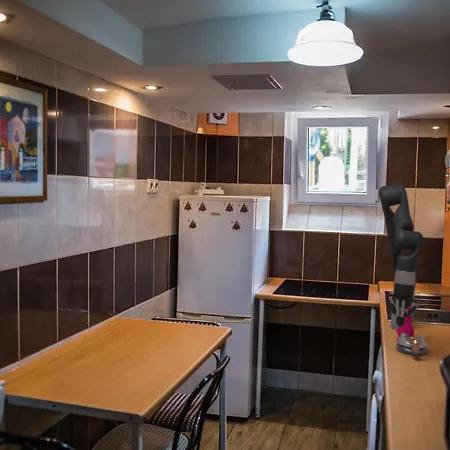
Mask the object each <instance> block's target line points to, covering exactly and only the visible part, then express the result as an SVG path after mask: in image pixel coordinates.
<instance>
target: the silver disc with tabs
mask: <svg viewBox="0 0 450 450" xmlns="http://www.w3.org/2000/svg"><path fill="white" fill-rule="evenodd" d="M395 348H396V349H395V350H396V351H398V352H399V353H403V354H405V355H409V356H410V355H411V356H418V357H422V356H426V355H427V354H428V349H429V347H427V346H426V349H424V350H419V353H418V354H417V355H416V354H412V351H411V349H408V348H404V347H402V346H400V345H398V342H396V346H395Z"/></svg>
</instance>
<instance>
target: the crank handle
mask: <svg viewBox="0 0 450 450" xmlns="http://www.w3.org/2000/svg"><path fill="white" fill-rule="evenodd" d="M398 337H399V336H398ZM424 337H425V336H424V335H423V334H416V336H408V333H405V332H404V333H401V336H400V337H399V338H398V342H397V343H398V345H400V346H402V347H404V348H408V349H411V351H412V354H416V355H417V354H418V353H419V350H424V349H426V347H427V345H428V341H427V339H424ZM416 355H415V356H416Z"/></svg>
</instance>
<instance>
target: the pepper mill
mask: <svg viewBox="0 0 450 450" xmlns="http://www.w3.org/2000/svg"><path fill="white" fill-rule="evenodd" d="M411 306H412V304H411V305H410V307H409V308H408V310H407V312H408V311H409V310H410V309H411ZM413 317H414V313H412V314H411V315H410V316H408V317H405V324H404V325H403V326H402V327H400V326H398V328H397V330H396V334H397V336H396V341H397V342H396V343H398V338H399V337H400V336H401V333H404V332H405V333H408V336H413V337H415V329H414V326H413V323H412V320H413Z"/></svg>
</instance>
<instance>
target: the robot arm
mask: <svg viewBox="0 0 450 450" xmlns="http://www.w3.org/2000/svg"><path fill="white" fill-rule="evenodd" d="M378 195H379V201H380V206H381V208H382V213H383V218H384V222H385V230H386V236H387V240H388V244H389V249H390V250H389V251H390V258H391V259H390V260H391V269H392V274H393V275H394V281H393V294H392V295H391V298H389V299H386V301H385V303H386V304H387V306H388V308H389V310H390V311H391V319H390V328H391V329H394V330H396V331H397V328H398V326H400V327H402V326H403V325H404V324H405V317H408V316H410V315H411V314H412V313H413V314H414V313H415V312H416V311H417V310H418V309H419V308H420V306H419V305H418V304H416V303H415V298H414V297H415V292H416V291H415V290H416V285H417V278H418V277H417V276H418V272H419V271H418V270H419V264H418V257H419V254H420V252H421V250H422V247H423V243H424V239H425V238H424V235H423V234H422V233H421V232H420V231H418V230H417V231H416V230H415V225H414V222H413V219H412V217H411V212H410V204H409V203H410V202H409V199H408V195H407V190H406V187H405V185H404V184H403V183H402V182H395V183H390V184H386V185H383V186H380V187H379V188H378ZM392 206H398V207H397V208H396V210H395V212H394V211H393V209H392V208H391V207H392ZM404 249H406V250H410V251H409V252H408V253H405V254H402V252H403V250H404ZM411 304H412V306H411V309H410V310H409V311H408V312H407V310H408V308H409V307H410V305H411Z"/></svg>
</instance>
